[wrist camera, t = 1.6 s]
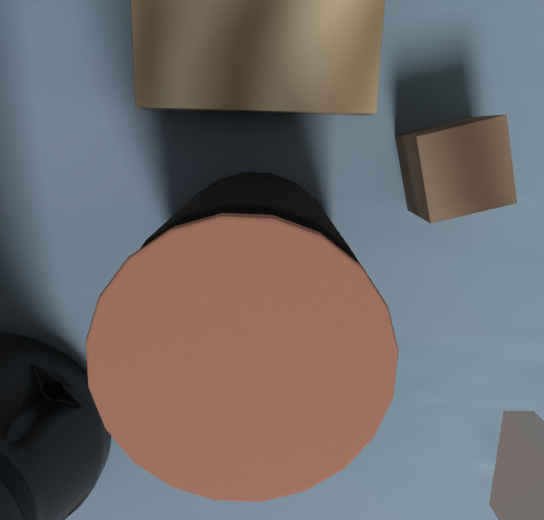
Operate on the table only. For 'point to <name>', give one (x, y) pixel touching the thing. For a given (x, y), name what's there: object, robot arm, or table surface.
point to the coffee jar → (243, 346)
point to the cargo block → (457, 168)
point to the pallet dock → (258, 55)
